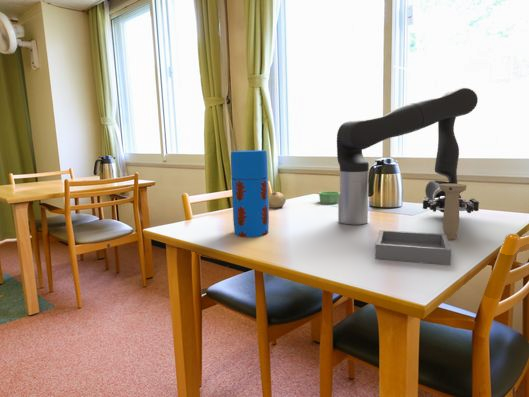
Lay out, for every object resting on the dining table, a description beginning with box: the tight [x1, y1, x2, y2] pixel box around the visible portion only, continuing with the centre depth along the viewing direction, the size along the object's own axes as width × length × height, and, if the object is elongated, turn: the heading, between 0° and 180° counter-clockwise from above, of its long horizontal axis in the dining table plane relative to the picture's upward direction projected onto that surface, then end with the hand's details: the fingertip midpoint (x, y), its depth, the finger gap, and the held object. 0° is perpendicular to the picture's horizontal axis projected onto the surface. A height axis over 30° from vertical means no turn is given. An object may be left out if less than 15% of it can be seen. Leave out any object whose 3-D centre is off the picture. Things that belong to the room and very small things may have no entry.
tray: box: [375, 229, 452, 266], centre depth 93 cm, size 16×14×4 cm
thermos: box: [230, 149, 270, 238], centre depth 114 cm, size 11×11×25 cm
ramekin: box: [318, 190, 340, 205], centre depth 164 cm, size 9×9×4 cm
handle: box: [440, 183, 467, 241], centre depth 103 cm, size 5×6×15 cm
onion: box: [268, 191, 286, 209], centre depth 156 cm, size 8×8×7 cm
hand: (452, 208), depth 102 cm, fingers open, 8 cm apart
